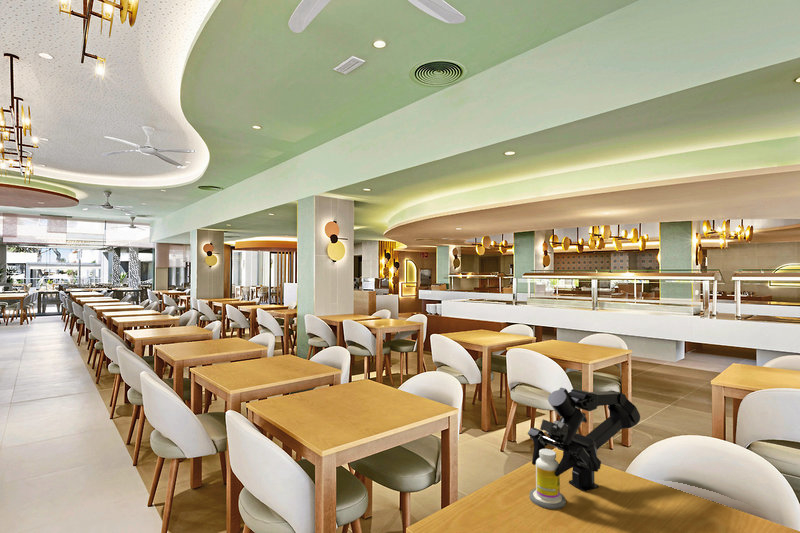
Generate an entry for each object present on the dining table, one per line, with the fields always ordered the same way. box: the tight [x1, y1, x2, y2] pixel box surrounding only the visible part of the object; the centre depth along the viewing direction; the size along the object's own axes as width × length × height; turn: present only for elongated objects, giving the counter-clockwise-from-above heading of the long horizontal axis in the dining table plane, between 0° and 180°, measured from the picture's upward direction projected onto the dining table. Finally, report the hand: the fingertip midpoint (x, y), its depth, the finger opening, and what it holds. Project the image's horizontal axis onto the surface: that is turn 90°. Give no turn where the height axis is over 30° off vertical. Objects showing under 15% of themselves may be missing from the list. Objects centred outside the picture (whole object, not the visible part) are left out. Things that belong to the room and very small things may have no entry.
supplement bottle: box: [535, 448, 561, 501], centre depth 122 cm, size 7×7×13 cm
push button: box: [529, 487, 567, 510], centre depth 122 cm, size 10×10×1 cm
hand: (544, 469), depth 122 cm, fingers open, 8 cm apart
